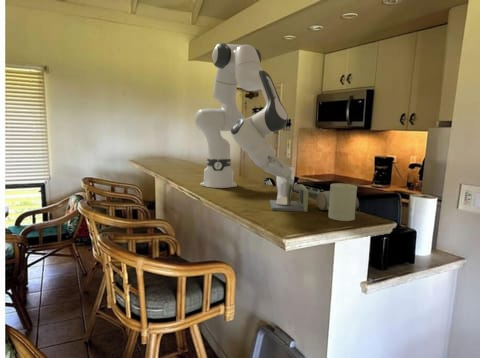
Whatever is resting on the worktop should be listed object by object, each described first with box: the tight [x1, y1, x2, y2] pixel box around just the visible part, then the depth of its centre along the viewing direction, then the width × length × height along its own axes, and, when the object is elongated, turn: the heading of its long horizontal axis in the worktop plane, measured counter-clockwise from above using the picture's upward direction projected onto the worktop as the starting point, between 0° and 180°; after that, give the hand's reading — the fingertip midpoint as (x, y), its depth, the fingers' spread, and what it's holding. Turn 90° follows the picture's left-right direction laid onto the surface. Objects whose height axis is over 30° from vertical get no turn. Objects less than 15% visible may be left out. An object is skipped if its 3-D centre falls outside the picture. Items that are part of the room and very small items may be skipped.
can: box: [327, 182, 358, 222], centre depth 122 cm, size 9×9×12 cm
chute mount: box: [269, 183, 309, 212], centre depth 137 cm, size 14×13×8 cm
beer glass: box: [275, 164, 295, 205], centre depth 136 cm, size 7×7×15 cm
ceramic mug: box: [315, 190, 330, 211], centre depth 132 cm, size 11×8×8 cm
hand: (286, 180), depth 136 cm, fingers open, 8 cm apart
